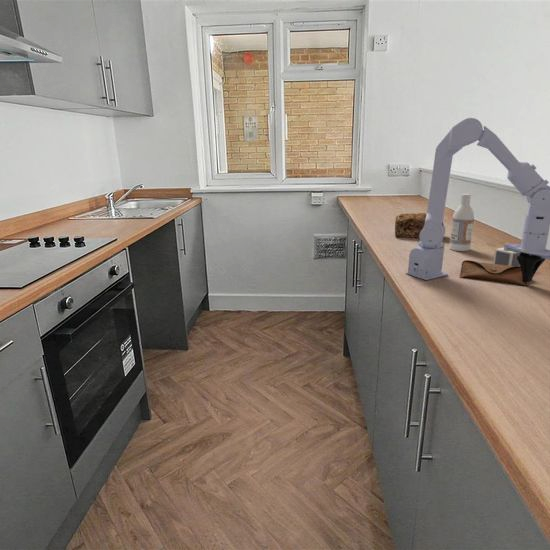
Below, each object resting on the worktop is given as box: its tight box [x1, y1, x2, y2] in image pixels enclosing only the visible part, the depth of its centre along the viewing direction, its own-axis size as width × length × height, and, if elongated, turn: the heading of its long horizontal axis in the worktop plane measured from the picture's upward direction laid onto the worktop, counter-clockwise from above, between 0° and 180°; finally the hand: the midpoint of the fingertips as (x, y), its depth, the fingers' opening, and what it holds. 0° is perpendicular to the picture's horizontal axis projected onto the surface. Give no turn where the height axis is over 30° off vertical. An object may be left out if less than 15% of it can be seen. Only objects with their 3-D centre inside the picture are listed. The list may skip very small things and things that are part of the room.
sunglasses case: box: [458, 259, 529, 287], centre depth 118 cm, size 18×7×7 cm
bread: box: [394, 212, 444, 240], centre depth 170 cm, size 19×11×10 cm, turn 69°
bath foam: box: [448, 193, 475, 252], centre depth 147 cm, size 7×7×20 cm
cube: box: [492, 246, 520, 266], centre depth 128 cm, size 6×6×6 cm
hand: (526, 281), depth 112 cm, fingers closed
